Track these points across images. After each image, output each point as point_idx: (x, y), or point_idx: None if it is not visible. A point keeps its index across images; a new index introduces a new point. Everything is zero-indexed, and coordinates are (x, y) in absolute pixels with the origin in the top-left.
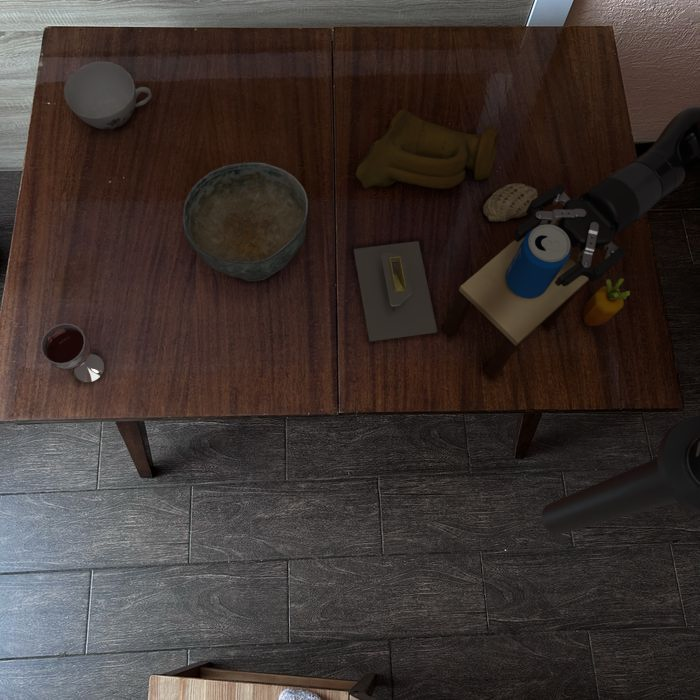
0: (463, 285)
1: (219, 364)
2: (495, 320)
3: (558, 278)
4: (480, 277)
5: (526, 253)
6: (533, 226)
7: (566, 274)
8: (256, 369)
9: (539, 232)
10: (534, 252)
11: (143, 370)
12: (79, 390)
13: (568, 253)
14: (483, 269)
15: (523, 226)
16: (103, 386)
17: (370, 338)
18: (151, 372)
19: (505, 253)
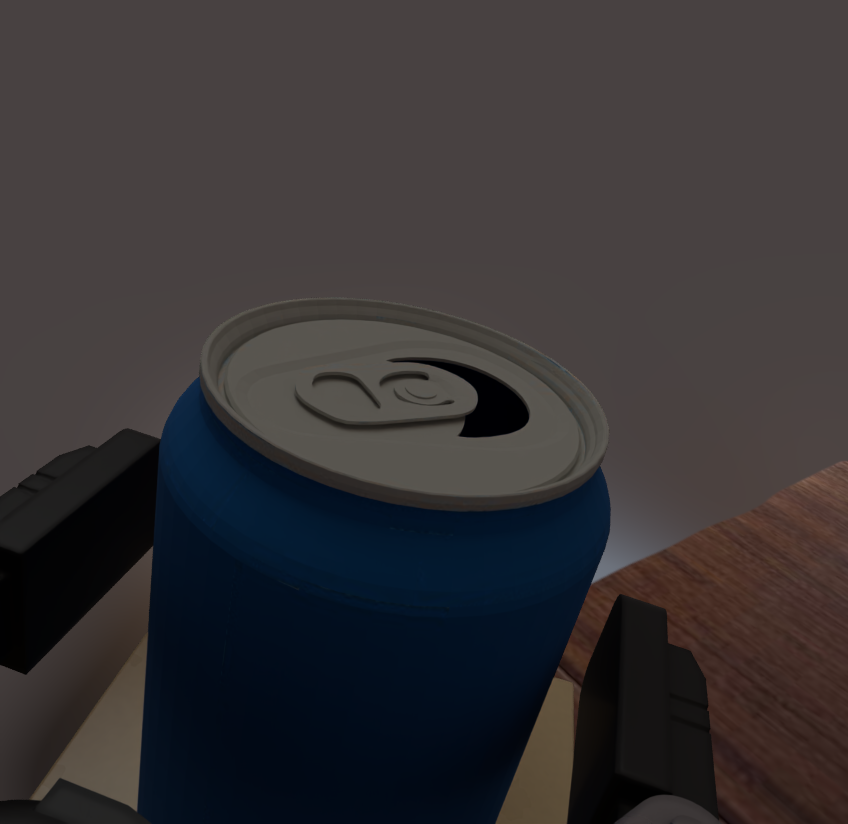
0: (566, 690)
1: (769, 606)
2: None
3: None
4: (537, 764)
5: (491, 383)
6: (614, 709)
7: (113, 452)
8: (715, 625)
9: (546, 441)
10: (457, 341)
11: (830, 553)
12: (843, 503)
13: (186, 412)
14: (560, 817)
15: (674, 688)
16: (832, 517)
17: None
18: (819, 554)
19: None
